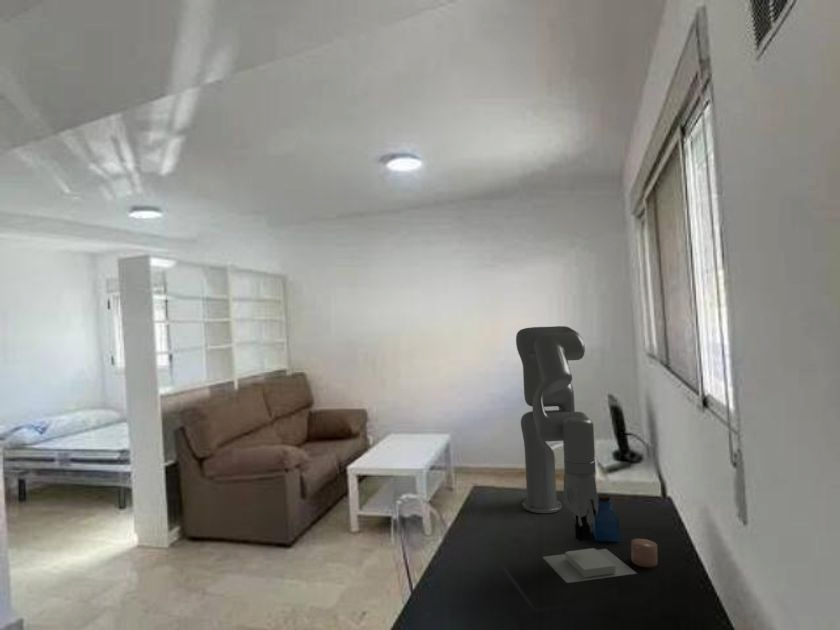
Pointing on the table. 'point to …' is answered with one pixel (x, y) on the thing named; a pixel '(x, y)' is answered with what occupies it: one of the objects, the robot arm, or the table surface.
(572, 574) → the mat
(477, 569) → the table surface
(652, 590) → the table surface
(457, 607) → the table surface
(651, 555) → the brown rounded cylinder
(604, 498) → the perfume bottle
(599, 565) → the tile
